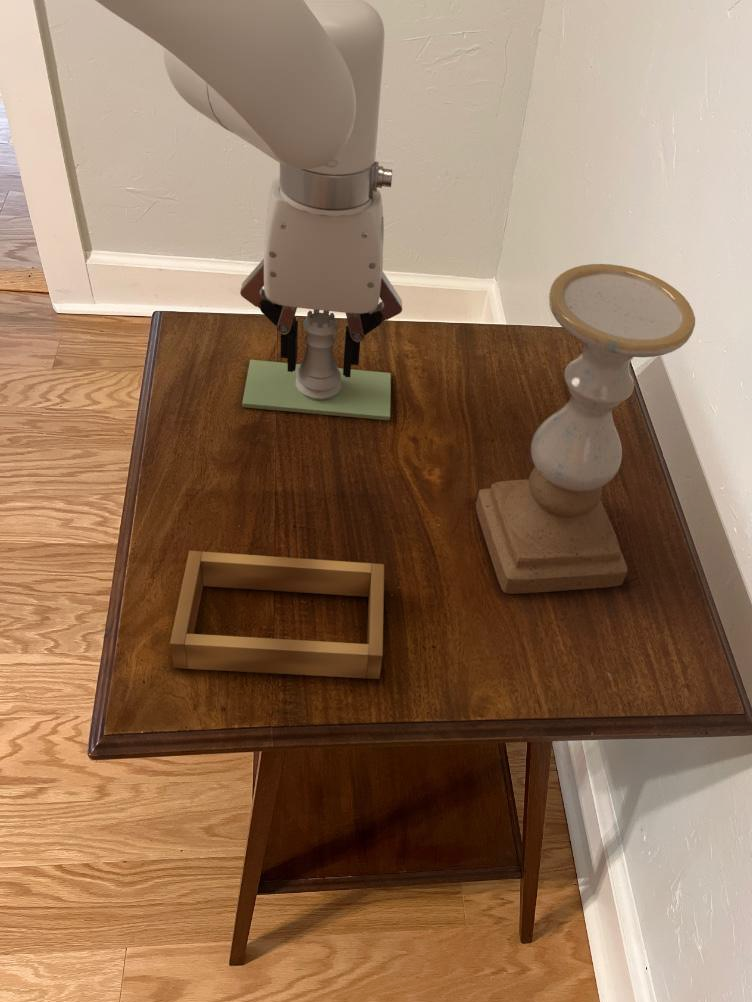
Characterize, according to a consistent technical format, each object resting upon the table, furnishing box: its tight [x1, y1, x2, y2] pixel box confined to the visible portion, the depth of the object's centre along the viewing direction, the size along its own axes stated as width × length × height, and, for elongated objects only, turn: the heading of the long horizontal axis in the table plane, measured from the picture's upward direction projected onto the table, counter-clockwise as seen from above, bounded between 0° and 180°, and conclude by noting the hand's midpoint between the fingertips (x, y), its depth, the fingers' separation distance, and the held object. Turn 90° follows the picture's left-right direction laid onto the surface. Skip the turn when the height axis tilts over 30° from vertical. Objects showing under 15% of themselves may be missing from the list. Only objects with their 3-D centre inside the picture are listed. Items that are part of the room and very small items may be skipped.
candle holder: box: [475, 263, 696, 595], centre depth 71 cm, size 11×11×24 cm
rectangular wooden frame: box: [169, 550, 385, 680], centre depth 69 cm, size 15×9×3 cm, turn 92°
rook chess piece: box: [295, 309, 341, 400], centre depth 86 cm, size 4×4×8 cm
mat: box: [241, 359, 392, 421], centre depth 89 cm, size 14×7×1 cm, turn 92°
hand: (320, 364), depth 87 cm, fingers open, 4 cm apart
